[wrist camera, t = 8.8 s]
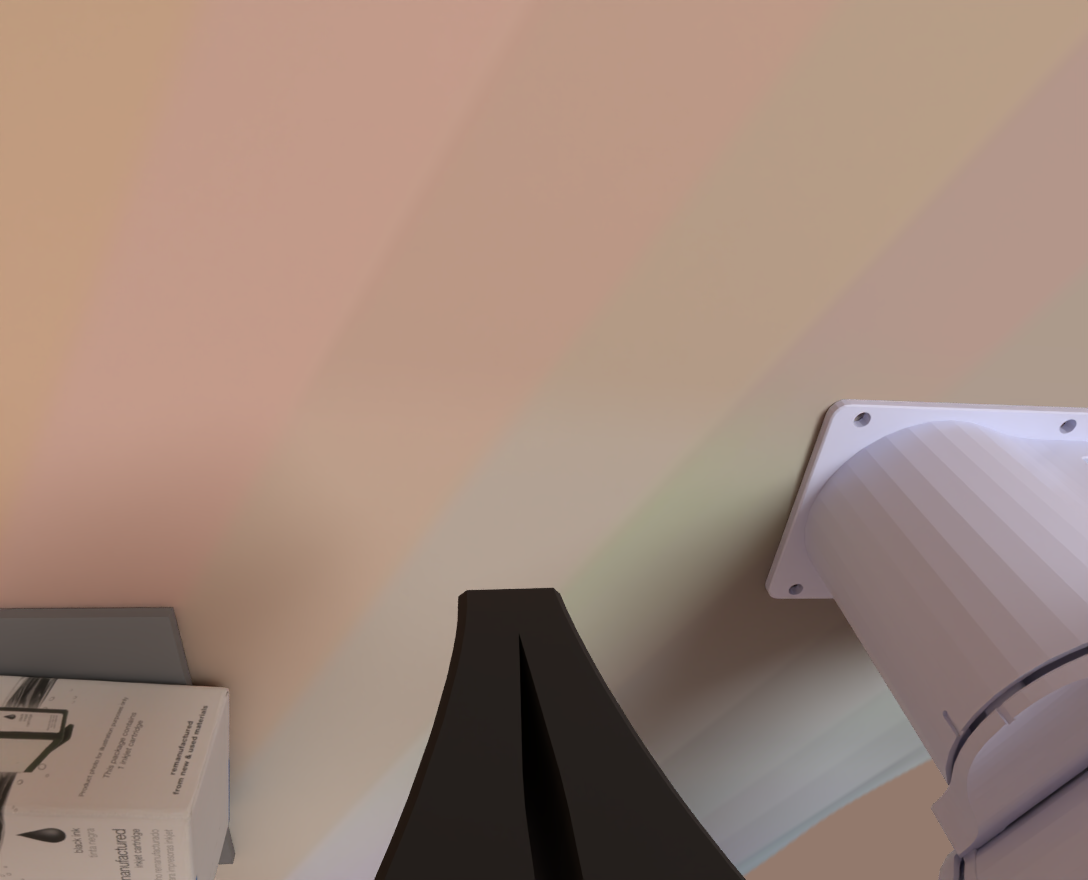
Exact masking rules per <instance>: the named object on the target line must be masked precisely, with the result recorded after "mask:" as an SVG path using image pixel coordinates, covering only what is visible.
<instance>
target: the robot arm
mask: <svg viewBox="0 0 1088 880" xmlns="http://www.w3.org/2000/svg"><path fill="white" fill-rule="evenodd" d="M864 412H865V415H864V416H863V417H862V418H861V419H860V420H858V421H854V419H855V418H856V416H857V415H859V414H860V413H864ZM1066 421H1067V422H1066ZM1064 422H1066V423H1065V424H1064V425H1063V426H1061V425H1062V424H1063V423H1064ZM1060 426H1061V427H1060ZM795 584H797V585H796V586H794V587H791V586H793V585H795ZM765 587H766V589H767V591H768V593H769V595H770V596H771V597H773V598H776V599H830V598H834V600H835V601H836V603H837V605H838V606H839V608H840V609H841V611H842V613H843V614H844V616H845V618H846V619H847V621H848V622H849V624H850V626H851V627H852V629H853V631H854V632H855V634H856V635H857V637H858V639H859V640H860V642H861V644H862V645H863V647H864V648H865V650H866V652H867V653H868V655H869V657H870V658H871V660H872V661H873V663H874V665H875V666H876V668H877V670H878V671H879V673H880V674H881V676H882V678H883V679H884V681H885V683H886V684H887V686H888V688H889V689H890V691H891V692H892V694H893V696H894V697H895V699H896V701H897V702H898V704H899V705H900V707H901V709H902V710H903V712H904V714H905V715H906V717H907V718H908V720H909V722H910V723H911V725H912V727H913V728H914V730H915V731H916V733H917V735H918V736H919V738H920V740H921V741H922V743H923V744H924V746H925V748H926V749H927V751H928V753H929V754H930V756H931V757H932V759H933V761H934V762H935V764H936V766H937V767H938V769H939V770H940V772H941V774H942V775H943V777H944V779H945V780H946V782H947V783H948V785H949V787H948V788H947V790H946V791H945V793H944V794H943V795H942V797H940V798H939V799H938V800H937V801H936V802H935V803H934V804H933V805H932V807H931V810H932V811H933V813H934V815H935V816H936V818H937V820H938V822H939V823H940V825H941V827H942V829H943V830H944V832H945V834H946V835H947V837H948V839H949V841H950V842H951V844H952V846H953V848H954V849H955V850H953V851H952V852H951V853H950V854H948V855H947V857H946V859H945V861H944V863H943V865H942V866H941V869H940V874H939V880H1088V408H1073V407H1046V406H1018V405H991V404H963V403H936V402H908V401H881V400H853V399H845V400H840V401H838V402H836V403H834V404H833V405H832V406H831V407H830V408H829V409H828V411H827V413H826V415H825V418H824V421H823V424H822V426H821V429H820V432H819V435H818V438H817V440H816V443H815V446H814V449H813V452H812V454H811V457H810V460H809V463H808V466H807V468H806V471H805V474H804V477H803V479H802V482H801V485H800V488H799V491H798V493H797V496H796V499H795V502H794V505H793V507H792V510H791V513H790V516H789V519H788V521H787V524H786V527H785V530H784V533H783V535H782V538H781V541H780V544H779V547H778V549H777V552H776V555H775V558H774V560H773V563H772V566H771V569H770V572H769V574H768V577H767V580H766V583H765ZM790 587H791V588H790ZM374 880H746V879H745V878H744V877H743V876H742V875H741V873H740V872H739V871H738V870H737V869H736V867H735V866H734V865H733V864H732V863H731V861H730V860H729V859H728V858H727V856H726V855H725V854H724V853H723V851H722V850H721V849H720V848H719V846H718V845H717V844H716V843H715V841H714V840H713V839H712V838H711V836H710V835H709V834H708V832H707V831H706V830H705V829H704V827H703V826H702V825H701V824H700V822H699V821H698V820H697V818H696V817H695V816H694V814H693V813H692V812H691V810H690V809H689V808H688V806H687V805H686V804H685V802H684V801H683V800H682V798H681V797H680V795H679V794H678V793H677V791H676V790H675V789H674V787H673V786H672V784H671V783H670V781H669V780H668V779H667V777H666V776H665V774H664V773H663V771H662V770H661V769H660V767H659V766H658V764H657V763H656V761H655V760H654V758H653V757H652V756H651V754H650V753H649V751H648V750H647V748H646V747H645V745H644V744H643V742H642V741H641V739H640V738H639V736H638V734H637V733H636V731H635V730H634V728H633V727H632V725H631V724H630V722H629V720H628V719H627V717H626V715H625V714H624V712H623V711H622V709H621V707H620V706H619V704H618V703H617V701H616V699H615V698H614V696H613V694H612V693H611V691H610V690H609V688H608V686H607V685H606V683H605V681H604V679H603V678H602V676H601V674H600V672H599V671H598V669H597V667H596V665H595V663H594V662H593V660H592V658H591V656H590V654H589V653H588V651H587V649H586V647H585V645H584V643H583V641H582V639H581V637H580V636H579V634H578V632H577V630H576V628H575V626H574V624H573V622H572V620H571V617H570V615H569V613H568V611H567V609H566V607H565V604H564V602H563V600H562V597H561V595H560V593H558V592H557V591H556V590H555V589H554V588H532V589H496V590H467V591H465V592H464V593H463V594H461V595H460V596H458V622H457V630H456V637H455V643H454V648H453V653H452V657H451V662H450V666H449V671H448V675H447V679H446V683H445V686H444V690H443V693H442V697H441V700H440V704H439V707H438V711H437V714H436V718H435V721H434V725H433V728H432V731H431V734H430V737H429V740H428V743H427V746H426V749H425V752H424V754H423V757H422V760H421V763H420V766H419V768H418V771H417V774H416V777H415V780H414V783H413V785H412V788H411V791H410V794H409V797H408V799H407V802H406V804H405V807H404V809H403V812H402V814H401V817H400V820H399V822H398V825H397V827H396V830H395V832H394V834H393V837H392V839H391V842H390V844H389V847H388V849H387V851H386V854H385V856H384V858H383V861H382V863H381V865H380V868H379V870H378V872H377V875H376V877H375V879H374Z"/></svg>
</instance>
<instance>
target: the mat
mask: <svg viewBox="0 0 1088 880" xmlns="http://www.w3.org/2000/svg"><path fill="white" fill-rule="evenodd" d="M0 675H3V676H22V677H37V678H56V679H77V680H98V681H113V682H130V683H149V684H169V685H190V686H193V685H192V681H191V677H190V673H189V669H188V665H187V661H186V657H185V653H184V649H183V645H182V641H181V637H180V633H179V629H178V625H177V622H176V618H175V614H174V610H173V608H52V609H0ZM234 857H235V851H234V847H233V843H232V839H231V835H230V831H229V827H228V828H227V832H226V836H225V840H224V844H223V848H222V852H221V856H220V859H219V863H218V864H233V861H234Z"/></svg>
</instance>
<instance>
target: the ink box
mask: <svg viewBox="0 0 1088 880" xmlns="http://www.w3.org/2000/svg"><path fill="white" fill-rule="evenodd" d="M228 824H229V689H228V688H226V687H210V686H190V685H169V684H149V683H130V682H113V681H98V680H77V679H56V678H37V677H22V676H3V675H0V880H214V879H215V875H216V871H217V867H218V863H219V859H220V856H221V852H222V848H223V844H224V840H225V836H226V832H227V828H228Z"/></svg>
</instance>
